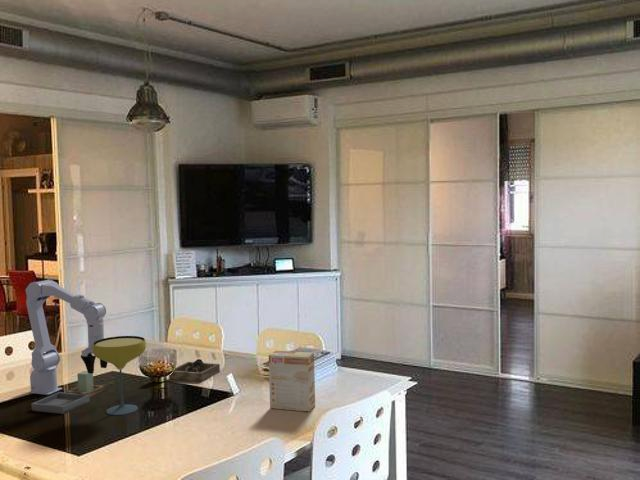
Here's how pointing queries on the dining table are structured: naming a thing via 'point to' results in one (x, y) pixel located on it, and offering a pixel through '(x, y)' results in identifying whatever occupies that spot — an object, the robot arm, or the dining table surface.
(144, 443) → the dining table surface
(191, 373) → the square serving dish
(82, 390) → the green elongated block
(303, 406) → the coffeecake box
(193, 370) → the eagle figurine
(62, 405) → the tray
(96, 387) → the square brown frame
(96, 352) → the cocktail glass
